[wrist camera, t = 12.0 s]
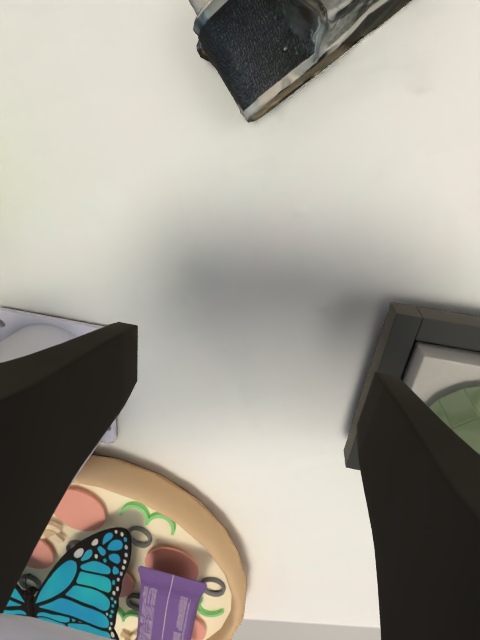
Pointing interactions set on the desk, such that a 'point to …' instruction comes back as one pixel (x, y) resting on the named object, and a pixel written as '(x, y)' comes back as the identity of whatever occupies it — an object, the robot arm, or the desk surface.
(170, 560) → the toy pizza
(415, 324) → the black square base
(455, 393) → the bowl
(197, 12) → the camera
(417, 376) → the button plate
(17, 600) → the butterfly
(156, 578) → the snack package
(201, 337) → the desk surface
